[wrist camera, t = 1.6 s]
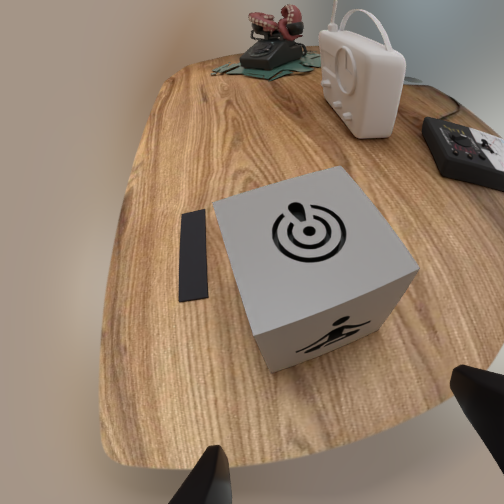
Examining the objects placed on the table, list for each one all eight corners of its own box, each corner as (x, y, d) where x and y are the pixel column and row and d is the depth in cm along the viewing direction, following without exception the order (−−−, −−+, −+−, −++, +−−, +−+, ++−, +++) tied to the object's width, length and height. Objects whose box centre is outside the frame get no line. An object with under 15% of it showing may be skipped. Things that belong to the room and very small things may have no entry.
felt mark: (208, 297, 26) (207, 296, 26) (179, 302, 26) (178, 301, 26) (205, 210, 33) (204, 208, 33) (182, 215, 33) (181, 214, 33)
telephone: (270, 49, 83) (264, 4, 67) (347, 59, 69) (345, 5, 53) (201, 76, 70) (187, 19, 54) (288, 85, 55) (279, 7, 39)
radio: (313, 95, 50) (304, -14, 30) (349, 94, 50) (346, -11, 30) (351, 148, 37) (352, -17, 17) (398, 146, 36) (411, -5, 16)
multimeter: (420, 132, 39) (424, 108, 35) (498, 153, 34) (506, 133, 30) (439, 177, 31) (449, 149, 27) (525, 199, 27) (537, 177, 23)
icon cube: (238, 276, 27) (212, 202, 19) (332, 244, 28) (340, 165, 20) (270, 373, 21) (253, 335, 13) (378, 329, 22) (419, 268, 14)
